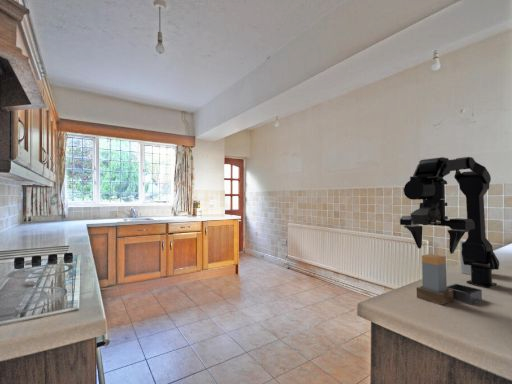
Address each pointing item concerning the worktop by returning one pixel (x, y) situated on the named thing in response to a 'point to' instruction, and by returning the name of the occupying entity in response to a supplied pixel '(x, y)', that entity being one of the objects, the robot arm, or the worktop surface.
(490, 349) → the worktop surface
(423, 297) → the square frame
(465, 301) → the socket
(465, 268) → the small box
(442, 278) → the plug
